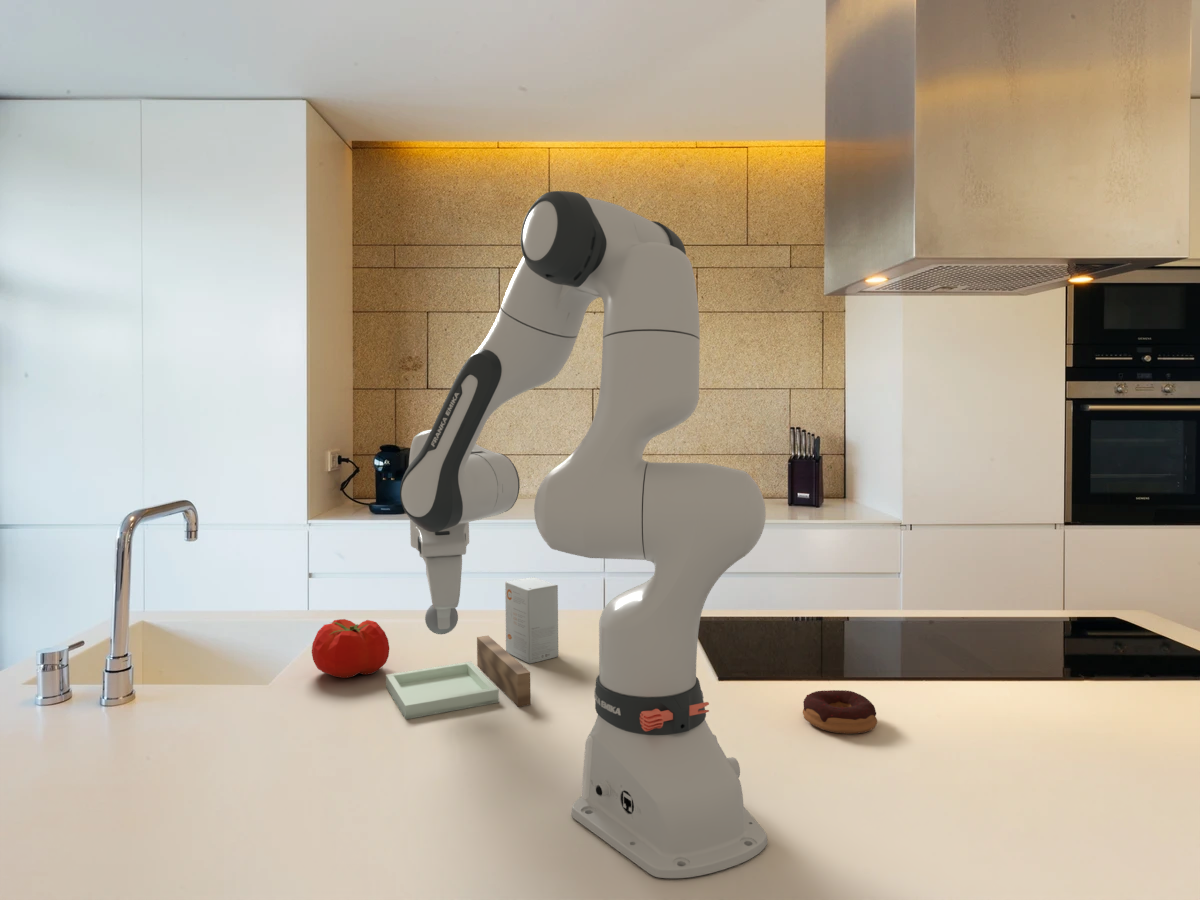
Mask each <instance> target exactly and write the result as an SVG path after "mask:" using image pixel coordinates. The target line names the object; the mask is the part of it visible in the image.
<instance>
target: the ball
mask: <svg viewBox="0 0 1200 900" xmlns="http://www.w3.org/2000/svg"><path fill="white" fill-rule="evenodd" d="M458 619H459V613H458V611H457V609H456V608H451V612H450V627H449V628H448V629H439V628H438V625H437V609H434V608H433V604H431V605H430V606H429V607H428V609H427V610H426V612H425V616H424V620H425V625H426V627H427V628H428V630H429V631H431V632H432V633H434V634H437V635H446V634H448V633H450V632H452V631H454V629H455V628H456V626H457V624H458V621H459V620H458Z"/></svg>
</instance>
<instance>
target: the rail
mask: <svg viewBox="0 0 1200 900" xmlns="http://www.w3.org/2000/svg"><path fill="white" fill-rule="evenodd" d="M476 659H477V660H476V662H477V666H476V667H477V668H478V669H479V670H480V671H481V672H482V673H483V674H484V675H485V676H486V677H487V678H488V679H489V680H490V681H491V682H492V683H493V684H494V685H495V686H496V687H498V689H499V690H501V692H502V693H503V694H505V695H506V696H507V698H508V699H509V700H511V701H512V703H513V704H514V705H515V706H516V707H518V708H521V707H527V706H530V705H532V704H531V699H532V698H531V672H530V671H529V669H527V668H526V667H525V666H524V665H523V664H521V662H519V661H518V660H517V659H516V657H514V656H513V655H511V654H509V653H508V652H507V651H506V649H505V648H503V647H502V646H501V645H500V644H499V643H498V642H497V641H495V640H494V639H493V638H492V637H490V636H489V635H481V636H476Z"/></svg>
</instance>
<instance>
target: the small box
mask: <svg viewBox="0 0 1200 900" xmlns="http://www.w3.org/2000/svg"><path fill="white" fill-rule="evenodd" d="M504 587H505V589H504V590H505V591H504V592H505V651H507V652H508V653H509V654H510V655H511V656H512V657H514V658H518V659H519V660H521V661H523V662H525V663H527V664H534V663H539V662H542V661H546V660H550V659H555V658H557V657H559V598H558V597H559V592H558V589H559V585H558V584H556V583H553V582H549V581H547V580H543V579H541V578H538V577H535V576H534V577H533V576H532V577H526V578H520V579H513V580H507V581H505V586H504Z"/></svg>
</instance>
